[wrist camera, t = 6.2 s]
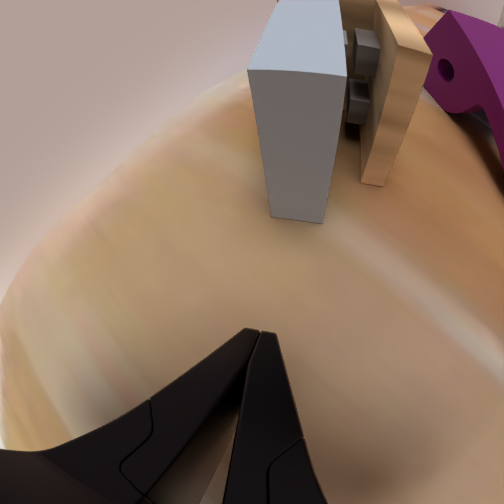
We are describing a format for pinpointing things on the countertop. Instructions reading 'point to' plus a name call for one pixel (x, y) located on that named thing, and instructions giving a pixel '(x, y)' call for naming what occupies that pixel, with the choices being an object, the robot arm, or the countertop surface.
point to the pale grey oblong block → (299, 104)
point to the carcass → (381, 79)
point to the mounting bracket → (468, 69)
